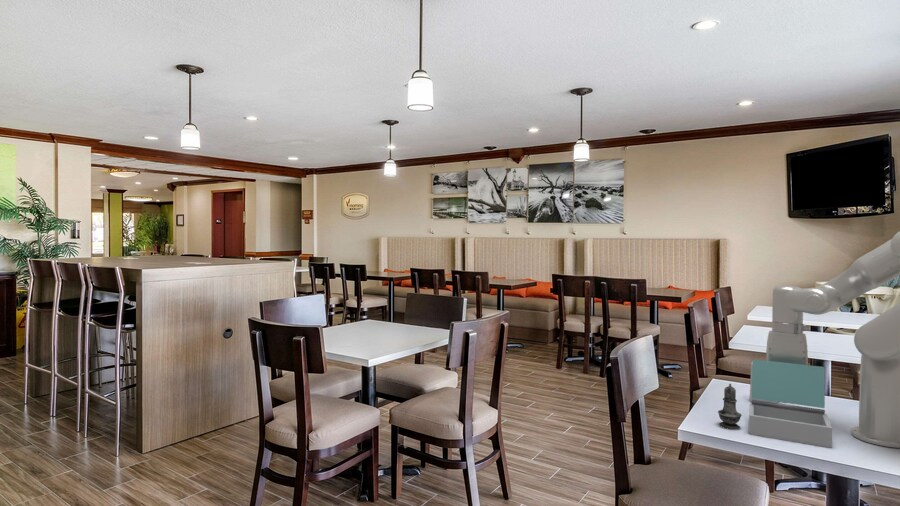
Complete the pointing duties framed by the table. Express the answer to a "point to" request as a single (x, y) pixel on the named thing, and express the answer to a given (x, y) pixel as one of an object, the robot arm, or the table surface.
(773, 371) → the cover
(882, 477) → the table surface
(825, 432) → the hinged gray case
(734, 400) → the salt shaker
